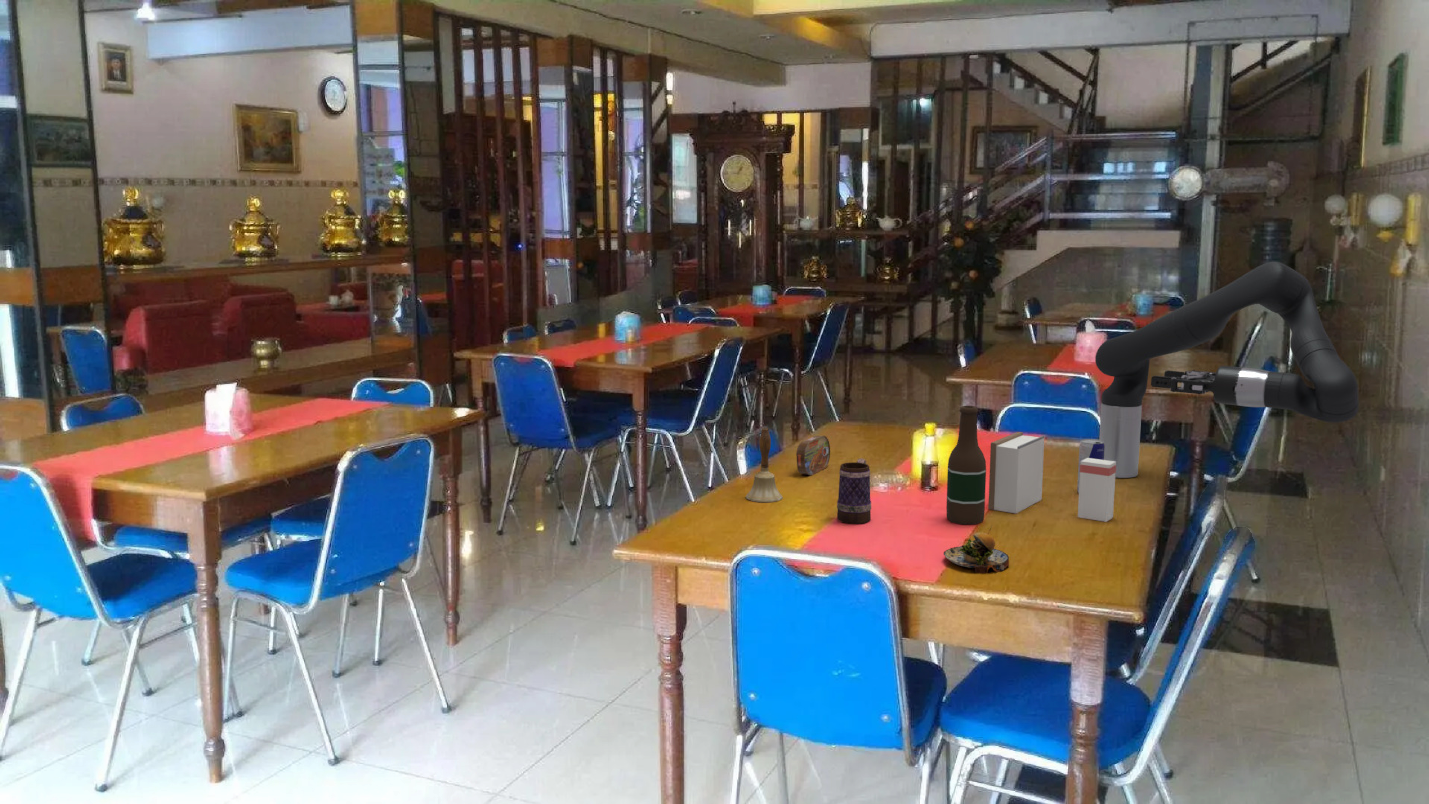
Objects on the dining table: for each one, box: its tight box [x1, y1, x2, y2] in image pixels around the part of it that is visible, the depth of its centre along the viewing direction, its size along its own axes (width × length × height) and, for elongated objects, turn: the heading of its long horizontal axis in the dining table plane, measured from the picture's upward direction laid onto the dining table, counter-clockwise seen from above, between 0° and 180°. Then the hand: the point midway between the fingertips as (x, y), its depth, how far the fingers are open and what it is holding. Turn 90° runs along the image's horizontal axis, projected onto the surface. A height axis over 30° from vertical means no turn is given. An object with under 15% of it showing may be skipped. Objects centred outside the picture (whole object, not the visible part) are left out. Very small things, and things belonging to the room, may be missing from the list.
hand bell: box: [745, 427, 784, 503], centre depth 253 cm, size 8×8×16 cm
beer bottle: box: [946, 405, 987, 526], centre depth 234 cm, size 8×8×24 cm
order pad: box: [987, 431, 1045, 514], centre depth 247 cm, size 14×6×15 cm, turn 142°
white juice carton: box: [1077, 458, 1116, 523], centre depth 236 cm, size 4×6×12 cm
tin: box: [795, 435, 831, 476], centre depth 279 cm, size 15×3×8 cm, turn 150°
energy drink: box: [1077, 438, 1105, 494], centre depth 256 cm, size 5×5×12 cm
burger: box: [943, 525, 1010, 574], centre depth 207 cm, size 12×12×8 cm
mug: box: [836, 457, 872, 525], centre depth 237 cm, size 10×7×12 cm
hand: (1158, 378), depth 232 cm, fingers open, 8 cm apart
